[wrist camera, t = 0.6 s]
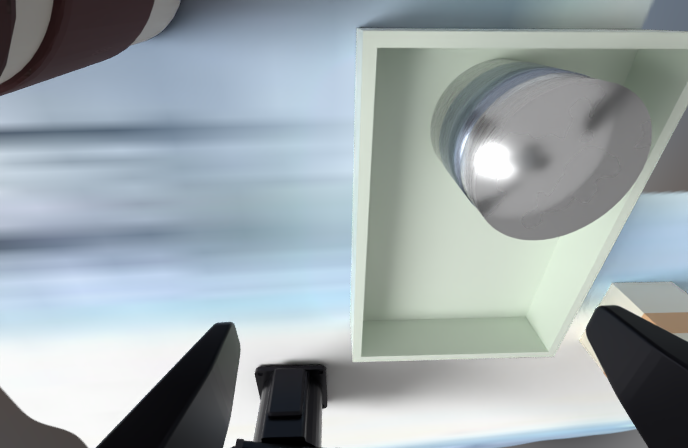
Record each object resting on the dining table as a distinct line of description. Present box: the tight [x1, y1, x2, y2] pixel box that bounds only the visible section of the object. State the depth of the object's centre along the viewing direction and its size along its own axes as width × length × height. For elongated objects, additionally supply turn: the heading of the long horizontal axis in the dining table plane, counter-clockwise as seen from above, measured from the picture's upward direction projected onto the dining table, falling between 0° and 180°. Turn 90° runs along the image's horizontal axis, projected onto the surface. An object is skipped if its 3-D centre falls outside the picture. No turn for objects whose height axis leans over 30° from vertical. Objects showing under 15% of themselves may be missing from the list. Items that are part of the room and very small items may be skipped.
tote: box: [350, 28, 688, 362], centre depth 21 cm, size 21×15×4 cm
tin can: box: [430, 58, 652, 240], centre depth 16 cm, size 7×7×7 cm
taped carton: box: [579, 282, 688, 377], centre depth 26 cm, size 7×5×7 cm
